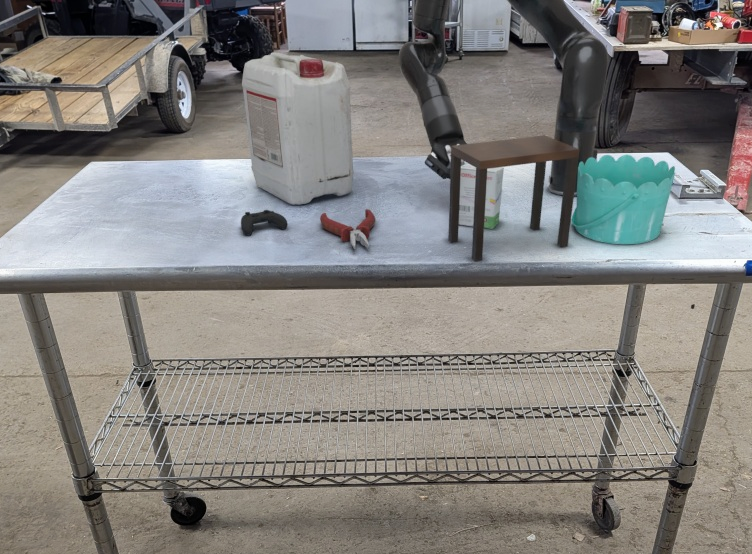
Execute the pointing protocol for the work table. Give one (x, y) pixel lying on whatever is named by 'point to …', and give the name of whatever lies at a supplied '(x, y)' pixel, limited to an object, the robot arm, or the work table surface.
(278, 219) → the gaming controller
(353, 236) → the pliers
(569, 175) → the small table
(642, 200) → the basket
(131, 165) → the work table surface
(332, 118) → the jerry can
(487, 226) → the ink box
